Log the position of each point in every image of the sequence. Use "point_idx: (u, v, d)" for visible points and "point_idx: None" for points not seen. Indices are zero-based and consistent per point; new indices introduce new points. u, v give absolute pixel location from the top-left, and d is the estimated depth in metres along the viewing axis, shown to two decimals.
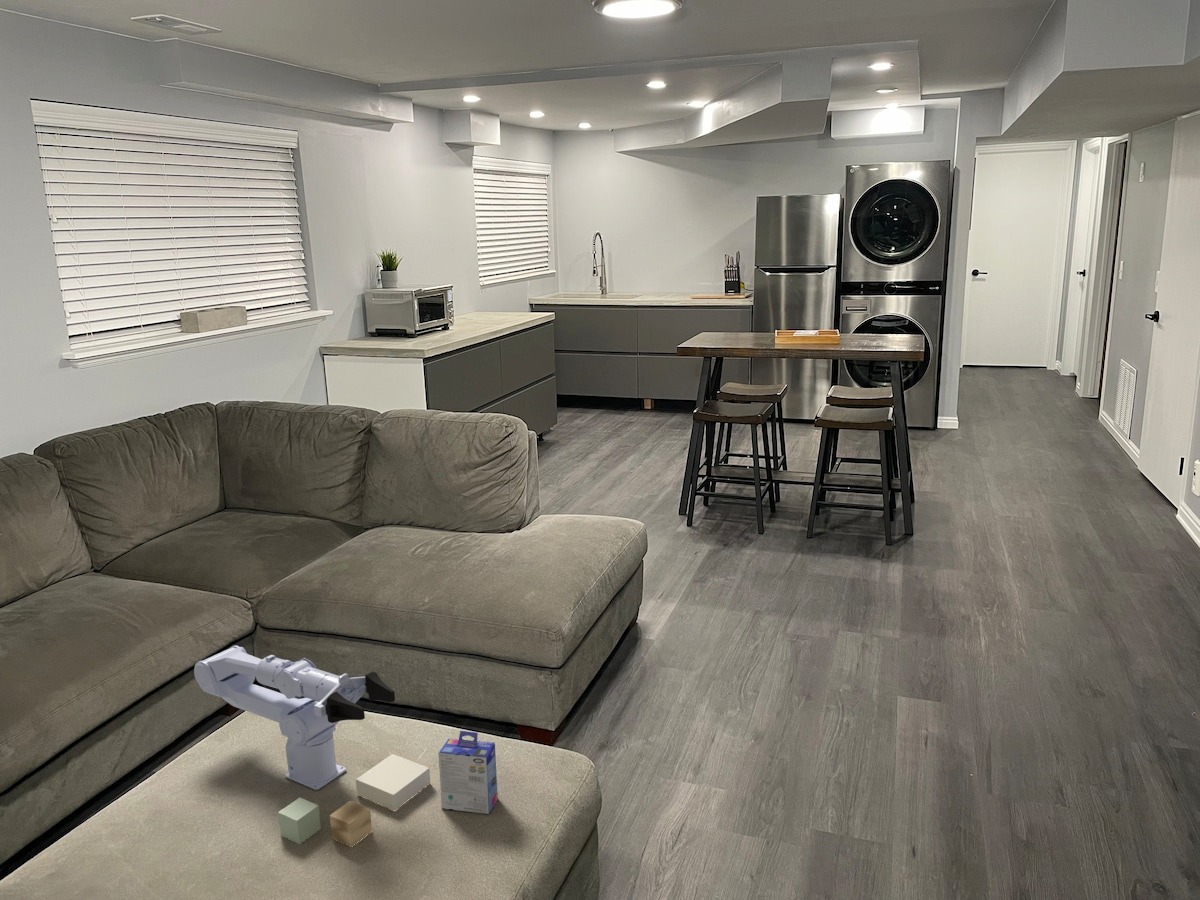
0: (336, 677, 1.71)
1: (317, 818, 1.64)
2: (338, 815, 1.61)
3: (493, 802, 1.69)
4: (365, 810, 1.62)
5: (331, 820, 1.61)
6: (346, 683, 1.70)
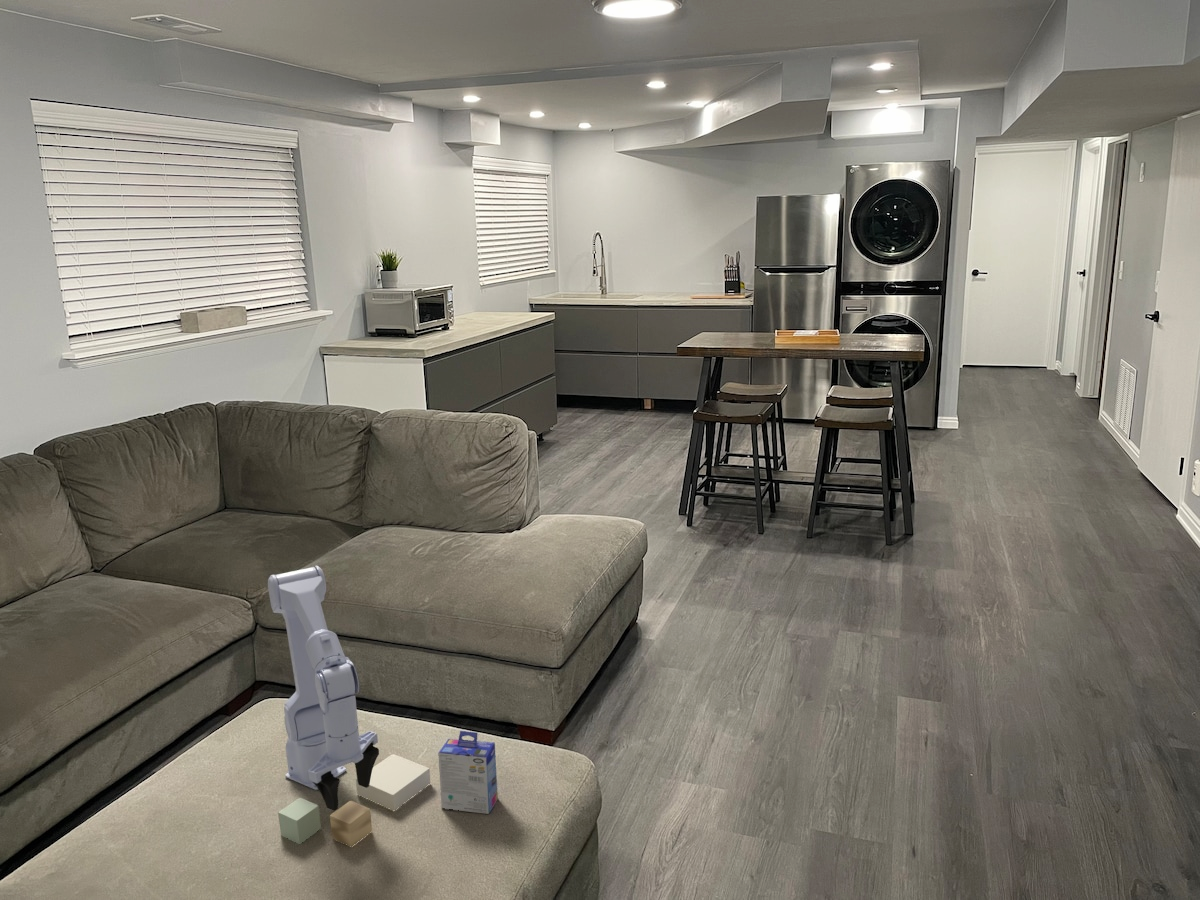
0: (355, 744, 1.57)
1: (317, 818, 1.64)
2: (338, 815, 1.61)
3: (493, 802, 1.69)
4: (365, 810, 1.62)
5: (331, 820, 1.61)
6: None
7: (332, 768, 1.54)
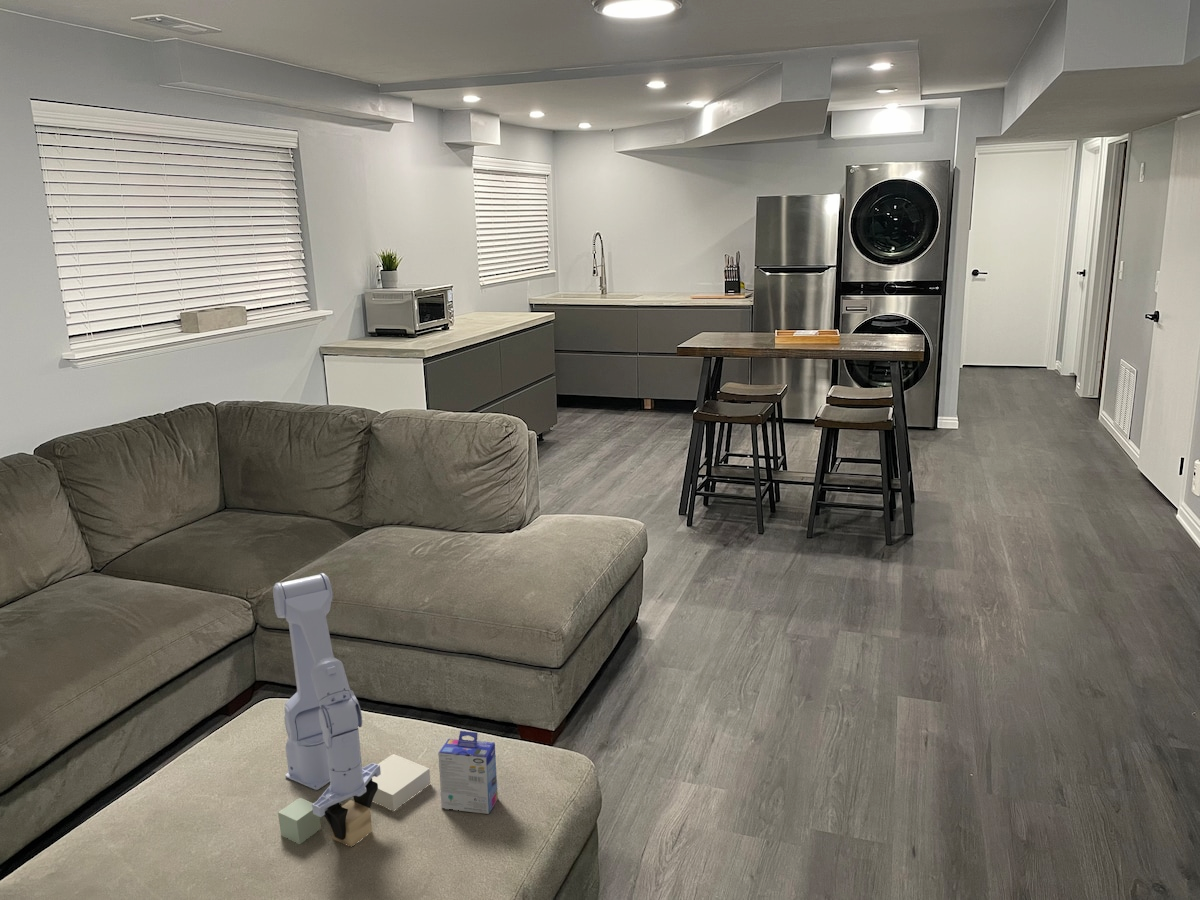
0: (358, 778, 1.58)
1: (317, 818, 1.64)
2: None
3: (493, 802, 1.69)
4: (365, 810, 1.62)
5: None
6: None
7: (336, 802, 1.56)
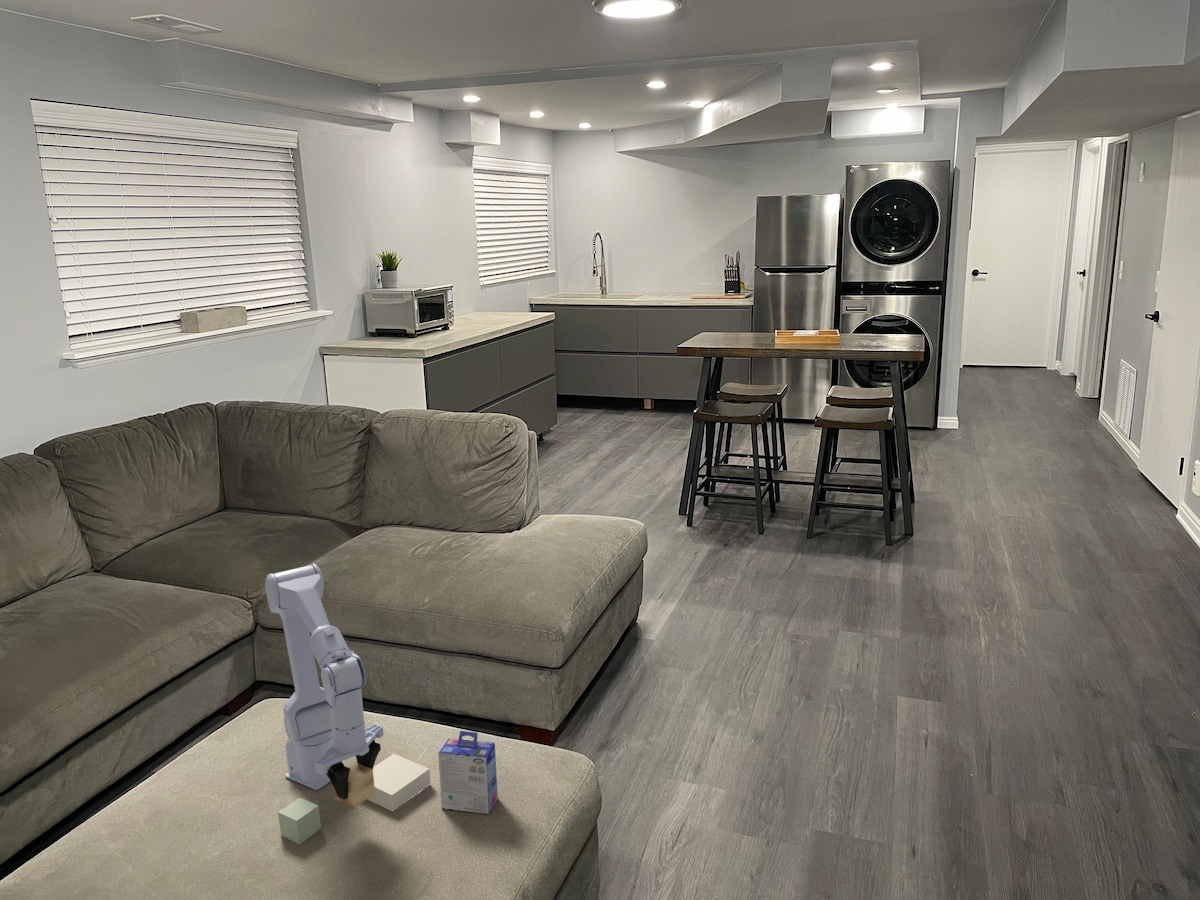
0: (361, 737, 1.59)
1: (317, 818, 1.64)
2: None
3: (493, 802, 1.69)
4: (368, 770, 1.62)
5: None
6: None
7: (338, 760, 1.56)
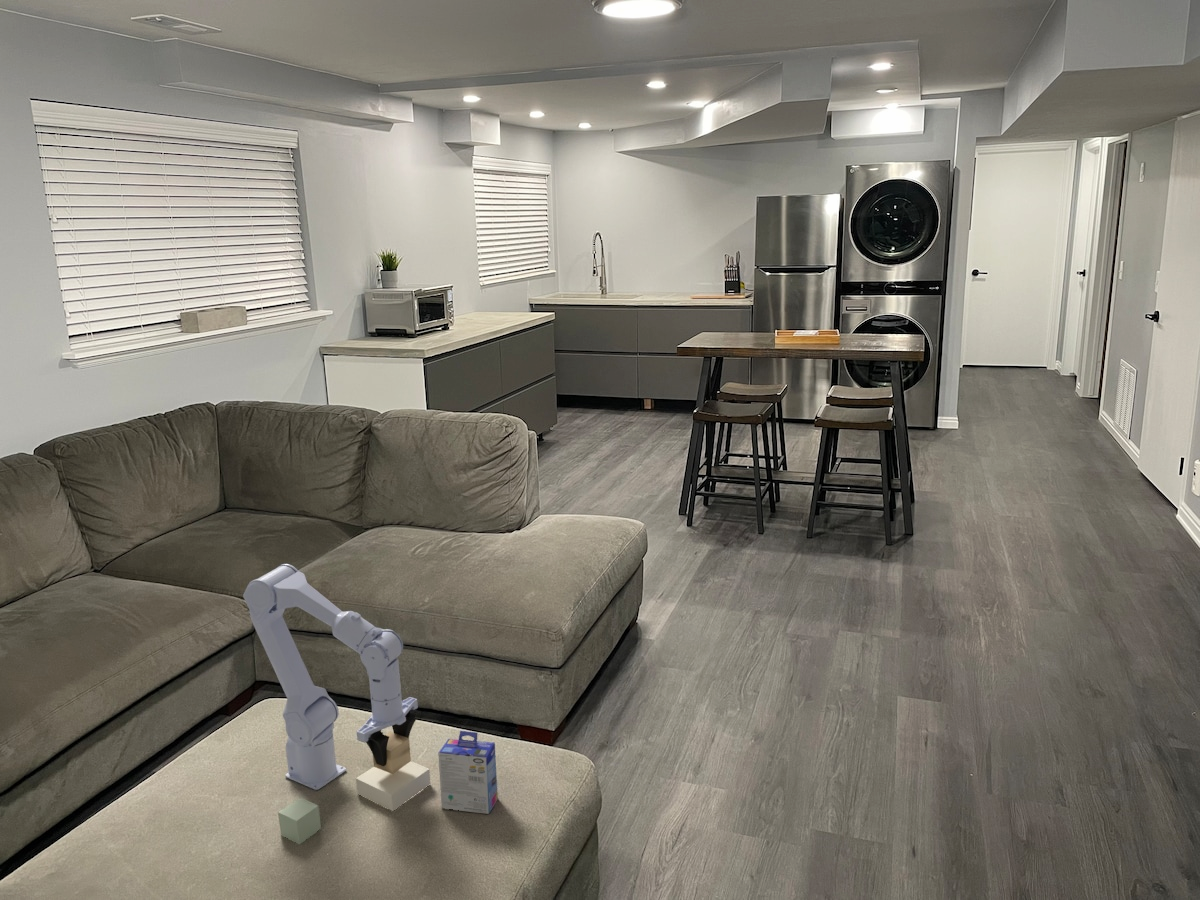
0: (398, 708, 1.70)
1: (317, 818, 1.64)
2: None
3: (493, 802, 1.69)
4: (404, 739, 1.73)
5: None
6: None
7: (378, 729, 1.68)
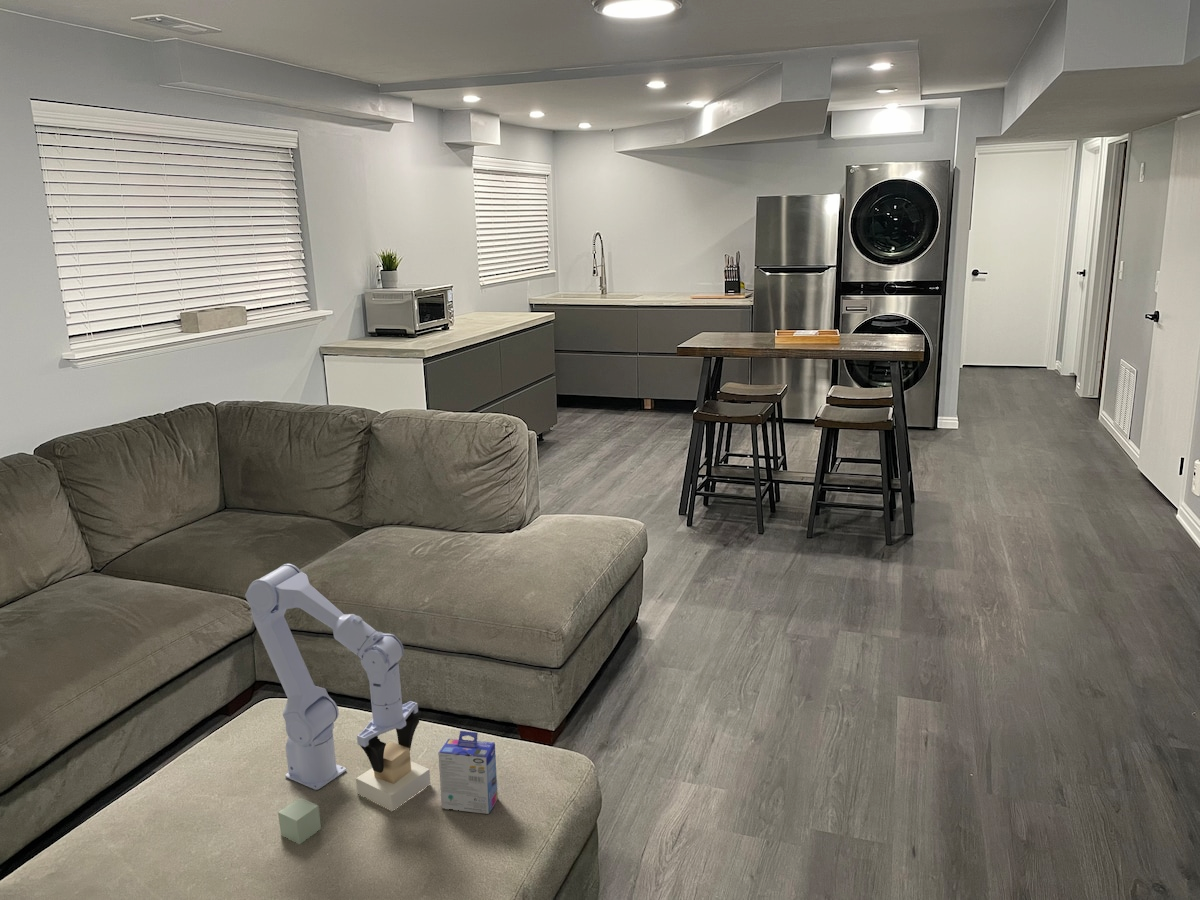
0: (399, 712, 1.70)
1: (317, 818, 1.64)
2: None
3: (493, 802, 1.69)
4: (405, 749, 1.74)
5: None
6: None
7: (378, 733, 1.68)
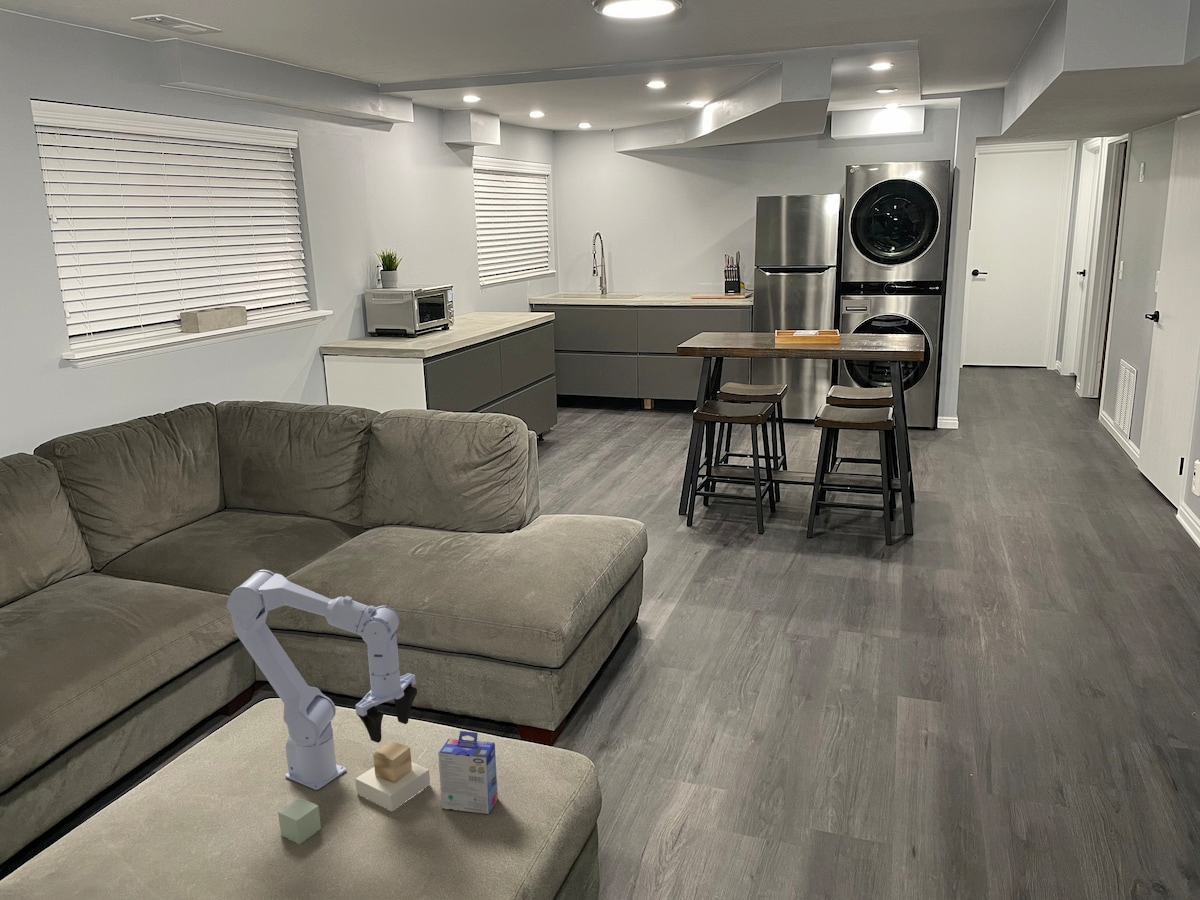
0: (396, 683, 1.73)
1: (317, 818, 1.64)
2: (381, 753, 1.73)
3: (493, 802, 1.69)
4: (406, 748, 1.74)
5: (374, 758, 1.73)
6: None
7: (376, 703, 1.71)
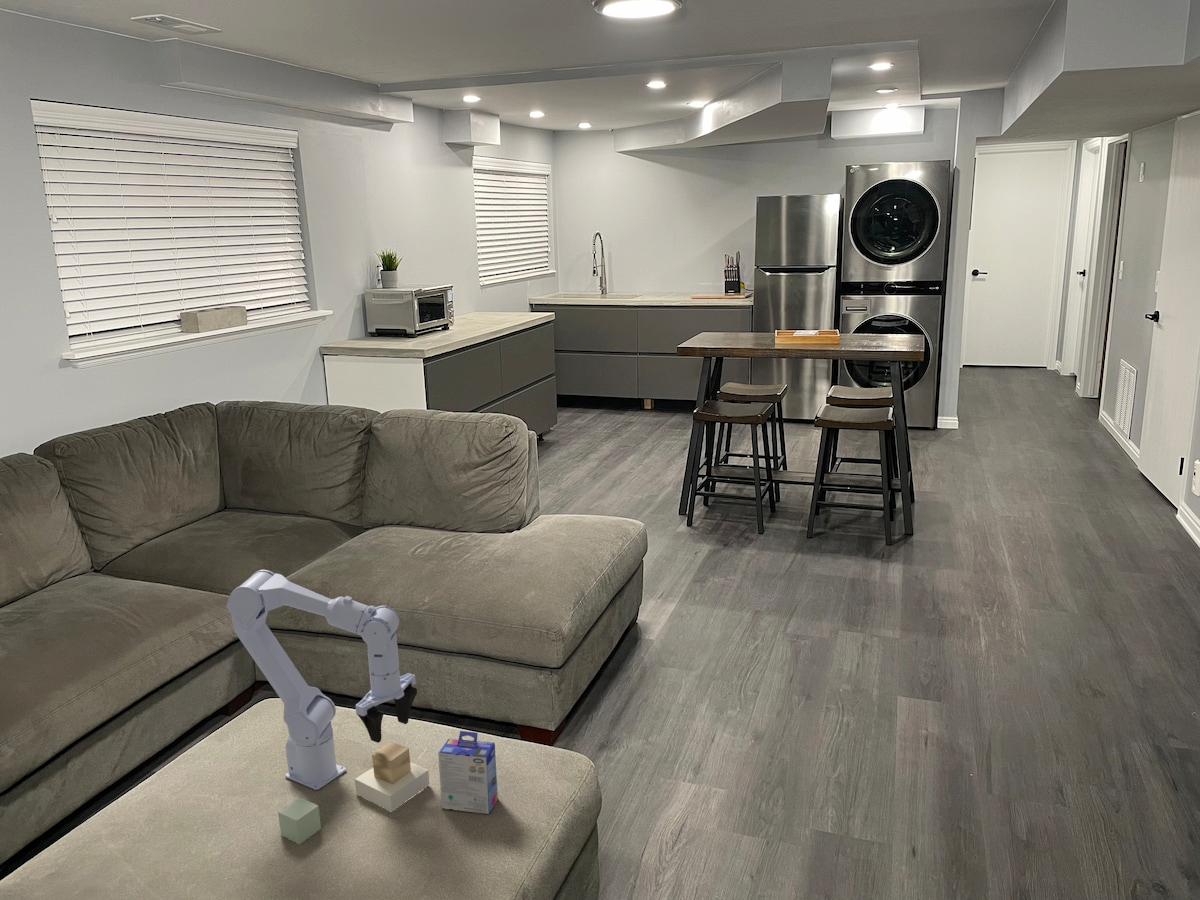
0: (396, 683, 1.73)
1: (317, 819, 1.64)
2: (379, 754, 1.73)
3: (493, 802, 1.69)
4: (404, 749, 1.74)
5: (373, 758, 1.73)
6: None
7: (377, 703, 1.71)
